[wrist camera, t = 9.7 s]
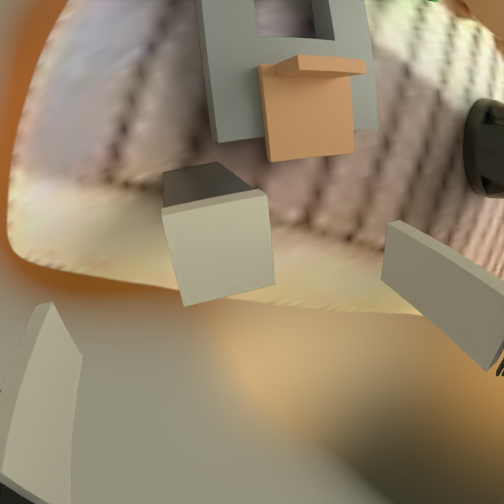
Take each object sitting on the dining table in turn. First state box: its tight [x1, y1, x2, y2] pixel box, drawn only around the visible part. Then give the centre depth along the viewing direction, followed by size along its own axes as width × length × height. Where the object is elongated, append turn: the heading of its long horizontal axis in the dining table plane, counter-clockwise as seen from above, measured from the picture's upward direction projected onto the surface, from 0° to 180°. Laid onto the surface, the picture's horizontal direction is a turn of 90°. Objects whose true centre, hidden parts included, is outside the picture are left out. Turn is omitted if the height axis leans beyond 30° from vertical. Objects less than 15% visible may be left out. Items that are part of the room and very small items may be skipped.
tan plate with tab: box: [257, 55, 367, 162], centre depth 18 cm, size 7×7×4 cm
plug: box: [161, 162, 275, 306], centre depth 19 cm, size 5×5×12 cm
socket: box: [195, 0, 379, 143], centre depth 18 cm, size 14×18×3 cm
